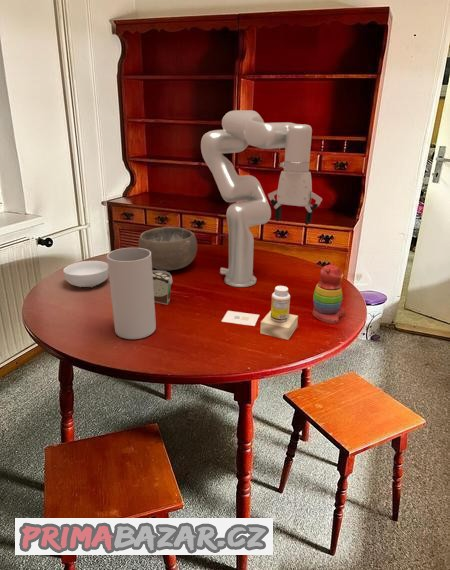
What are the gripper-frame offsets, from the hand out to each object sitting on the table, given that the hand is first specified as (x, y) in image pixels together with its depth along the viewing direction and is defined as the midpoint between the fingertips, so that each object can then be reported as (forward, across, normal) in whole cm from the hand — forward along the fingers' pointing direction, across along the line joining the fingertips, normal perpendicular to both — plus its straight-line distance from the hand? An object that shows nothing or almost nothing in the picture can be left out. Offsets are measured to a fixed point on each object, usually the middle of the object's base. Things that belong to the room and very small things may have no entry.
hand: (292, 222), depth 138 cm
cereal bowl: (+31, -76, -15) cm, 83 cm away
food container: (+31, -43, -14) cm, 55 cm away
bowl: (+31, -58, +15) cm, 67 cm away
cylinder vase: (+31, -37, -37) cm, 61 cm away
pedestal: (+30, +3, -17) cm, 35 cm away
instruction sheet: (+30, -11, -15) cm, 36 cm away
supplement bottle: (+26, +3, -17) cm, 32 cm away
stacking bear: (+31, +14, 0) cm, 34 cm away
